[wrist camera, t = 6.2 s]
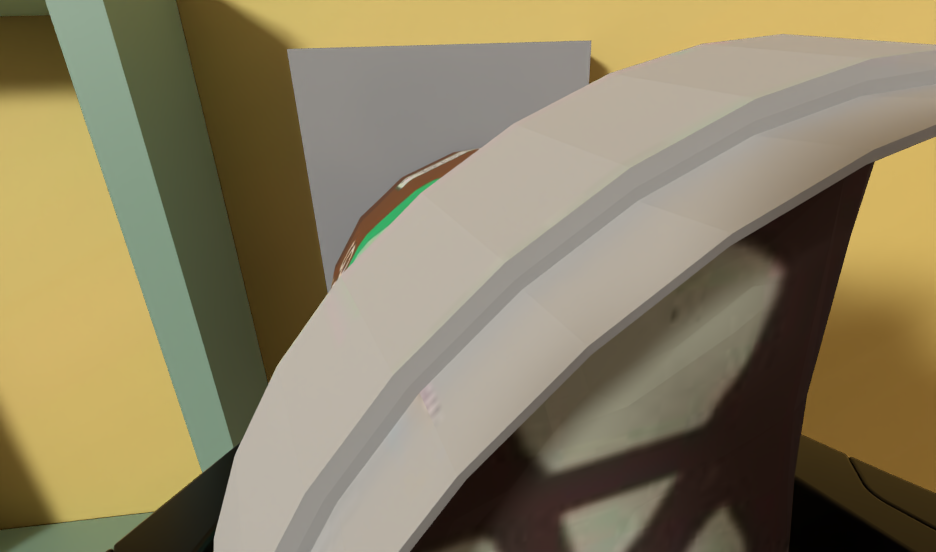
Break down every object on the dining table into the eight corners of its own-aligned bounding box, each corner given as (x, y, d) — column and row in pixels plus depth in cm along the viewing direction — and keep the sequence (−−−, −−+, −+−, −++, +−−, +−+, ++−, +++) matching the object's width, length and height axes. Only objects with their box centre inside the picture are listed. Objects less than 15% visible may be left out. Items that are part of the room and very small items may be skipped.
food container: (234, 92, 10) (-941, -208, 1) (493, 85, 11) (1140, -28, 2) (321, 505, 14) (314, 1187, 5) (498, 457, 16) (730, 912, 7)
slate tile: (559, 445, 17) (567, 464, 16) (363, 467, 16) (360, 488, 15) (578, 46, 12) (591, 40, 11) (297, 54, 11) (286, 49, 10)
